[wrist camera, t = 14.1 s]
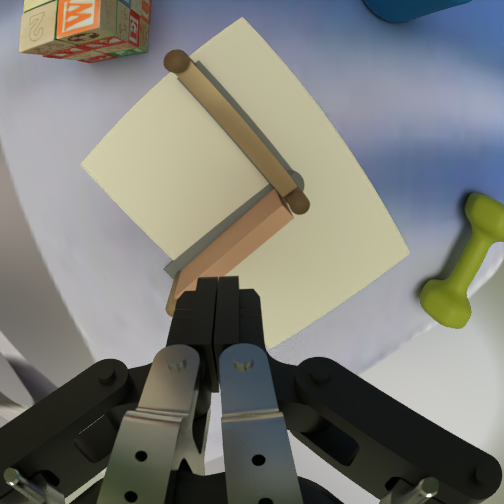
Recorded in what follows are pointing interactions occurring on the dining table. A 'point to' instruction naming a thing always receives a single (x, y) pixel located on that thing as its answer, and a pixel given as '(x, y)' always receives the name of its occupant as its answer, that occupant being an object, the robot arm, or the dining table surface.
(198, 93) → the wooden fence panel
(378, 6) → the beverage can
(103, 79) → the dining table surface
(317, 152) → the card
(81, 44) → the stack of blocks
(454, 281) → the dumbbell
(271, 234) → the gate
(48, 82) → the dining table surface
